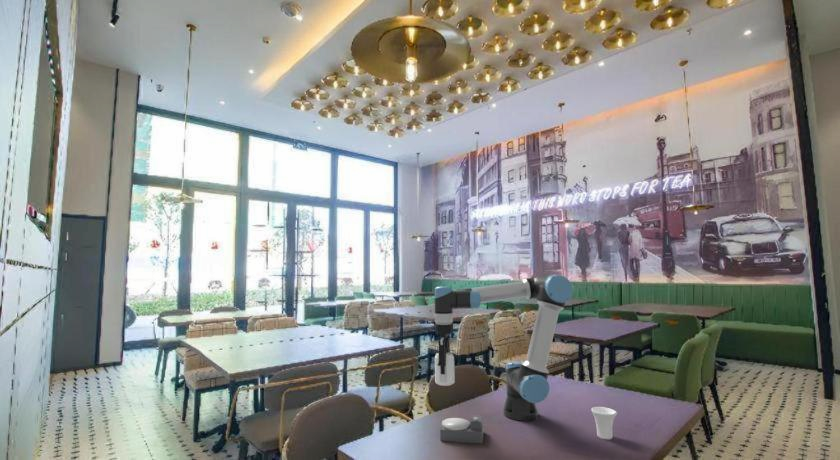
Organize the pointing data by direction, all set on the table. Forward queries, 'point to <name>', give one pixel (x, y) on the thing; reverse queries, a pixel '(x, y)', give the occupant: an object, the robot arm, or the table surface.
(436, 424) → the table surface
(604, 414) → the cup
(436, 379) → the beverage can
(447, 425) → the grey hot plate stirrer
